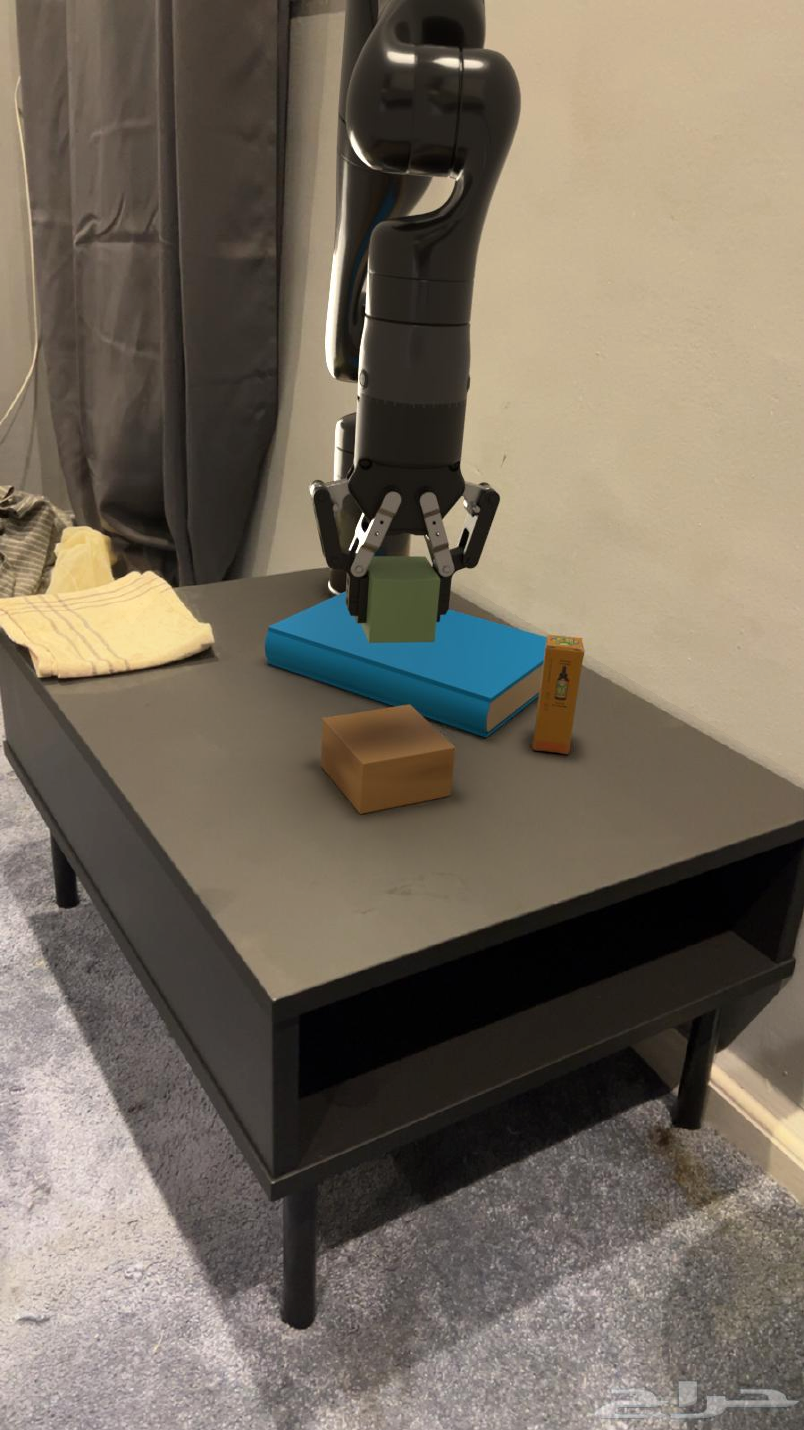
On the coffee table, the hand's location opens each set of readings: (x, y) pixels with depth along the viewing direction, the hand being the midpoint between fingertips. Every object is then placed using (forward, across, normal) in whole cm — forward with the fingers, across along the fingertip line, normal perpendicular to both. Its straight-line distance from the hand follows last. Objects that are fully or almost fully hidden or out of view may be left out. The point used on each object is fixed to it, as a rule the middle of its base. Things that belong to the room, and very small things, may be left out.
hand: (395, 618), depth 80 cm
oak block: (+14, 0, 0) cm, 14 cm away
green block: (+1, 0, 0) cm, 1 cm away
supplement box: (+14, -16, -5) cm, 22 cm away
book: (+15, -7, -21) cm, 26 cm away
